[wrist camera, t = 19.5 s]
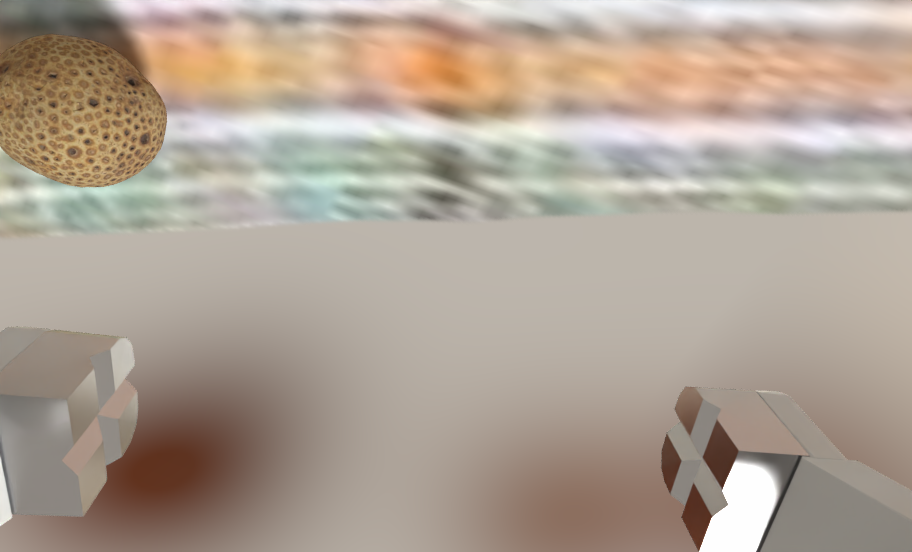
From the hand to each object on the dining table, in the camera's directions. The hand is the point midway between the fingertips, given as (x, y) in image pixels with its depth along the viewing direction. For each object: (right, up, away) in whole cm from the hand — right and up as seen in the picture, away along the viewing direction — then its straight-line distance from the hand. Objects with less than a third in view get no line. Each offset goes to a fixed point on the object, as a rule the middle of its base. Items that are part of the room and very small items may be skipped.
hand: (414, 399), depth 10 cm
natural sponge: (-22, +14, +34) cm, 42 cm away
